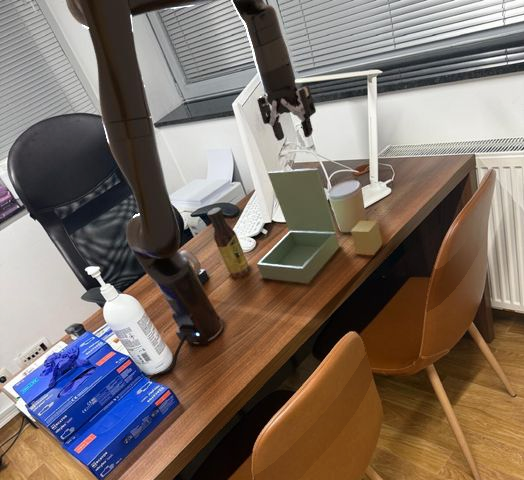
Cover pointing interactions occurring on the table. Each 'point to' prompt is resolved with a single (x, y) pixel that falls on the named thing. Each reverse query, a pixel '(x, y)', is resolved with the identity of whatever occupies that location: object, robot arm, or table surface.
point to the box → (298, 256)
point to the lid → (302, 199)
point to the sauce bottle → (228, 244)
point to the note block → (366, 237)
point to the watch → (196, 266)
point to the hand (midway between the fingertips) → (294, 137)
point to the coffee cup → (347, 204)
